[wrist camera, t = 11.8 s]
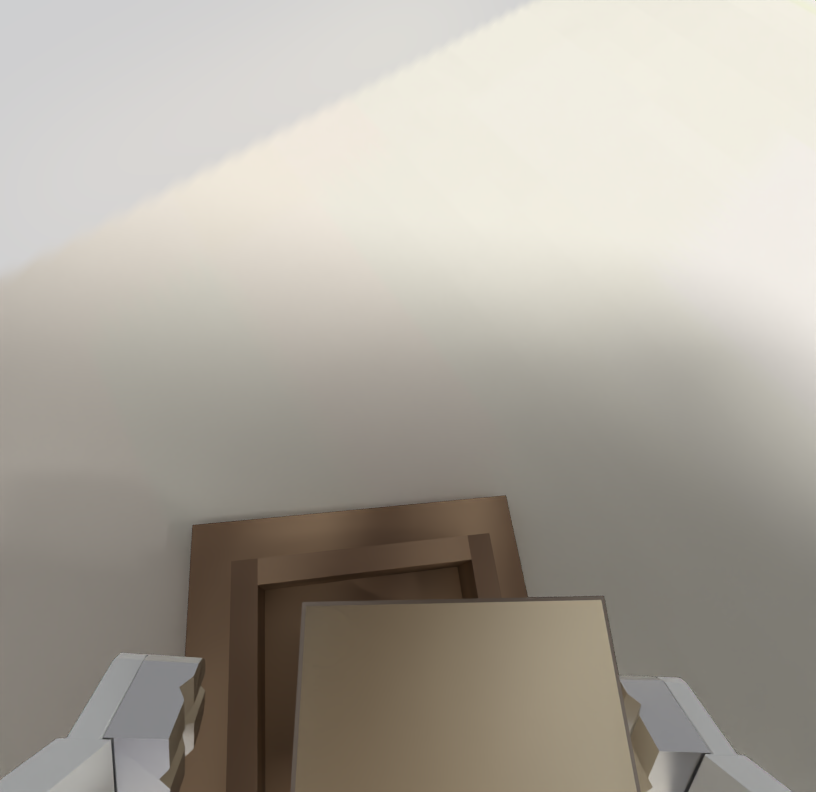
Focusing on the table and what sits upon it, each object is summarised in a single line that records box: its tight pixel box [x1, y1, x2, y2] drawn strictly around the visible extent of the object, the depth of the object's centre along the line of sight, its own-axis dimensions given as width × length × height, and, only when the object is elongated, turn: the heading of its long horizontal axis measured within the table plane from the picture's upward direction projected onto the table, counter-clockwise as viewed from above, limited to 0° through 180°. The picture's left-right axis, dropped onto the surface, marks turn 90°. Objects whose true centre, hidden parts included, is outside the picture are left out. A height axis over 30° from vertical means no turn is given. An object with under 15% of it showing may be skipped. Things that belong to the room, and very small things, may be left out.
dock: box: [179, 495, 528, 792], centre depth 16 cm, size 12×12×3 cm
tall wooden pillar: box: [290, 596, 641, 792], centre depth 11 cm, size 4×4×12 cm
